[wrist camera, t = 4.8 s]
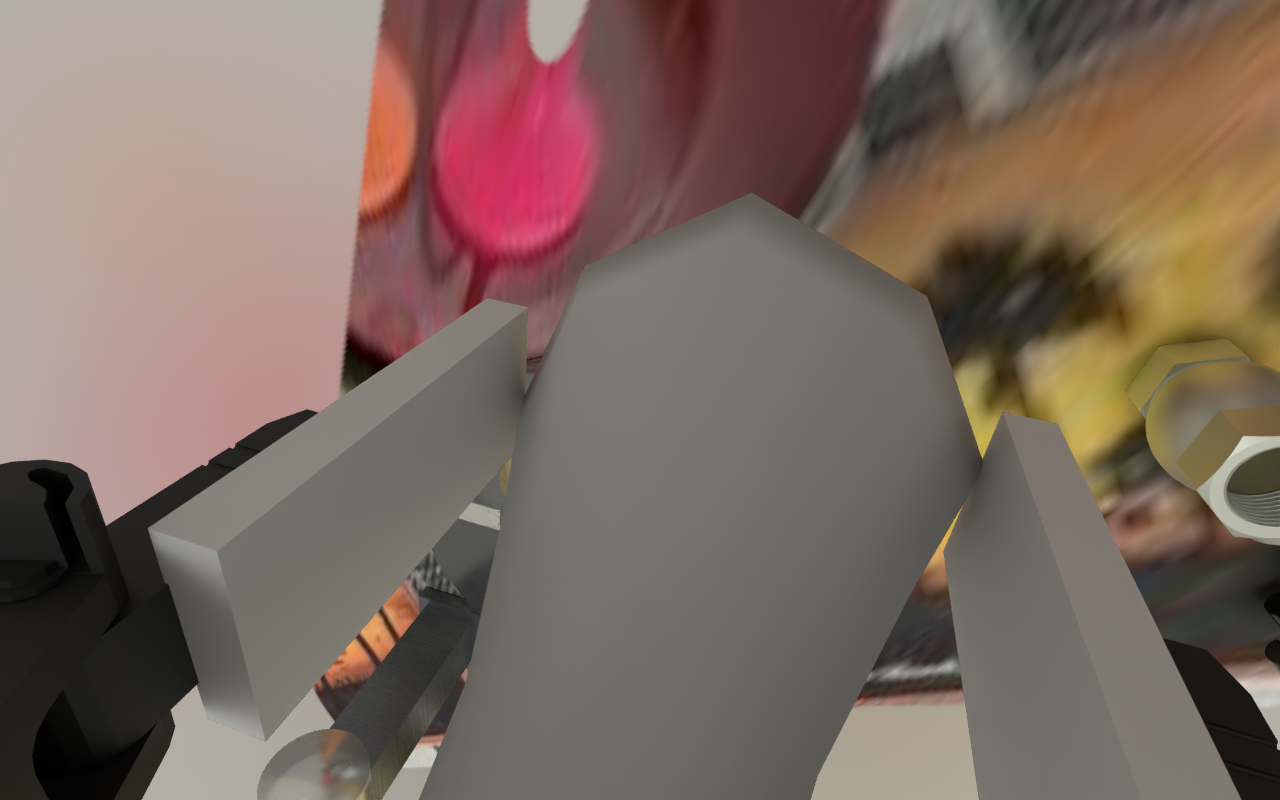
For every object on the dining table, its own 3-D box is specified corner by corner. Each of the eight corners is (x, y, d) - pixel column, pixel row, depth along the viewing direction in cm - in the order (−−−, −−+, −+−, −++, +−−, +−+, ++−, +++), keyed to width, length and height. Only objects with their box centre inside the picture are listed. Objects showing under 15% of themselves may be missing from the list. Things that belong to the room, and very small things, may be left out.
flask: (467, 382, 13) (-293, 1029, 4) (762, 91, 9) (-334, 620, 1) (720, 638, 14) (492, 1547, 6) (1072, 467, 10) (1971, 2360, 2)
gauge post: (490, 598, 39) (324, 844, 27) (491, 654, 42) (337, 903, 30) (422, 576, 40) (232, 806, 28) (426, 633, 43) (251, 867, 31)
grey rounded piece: (804, 401, 28) (783, 525, 21) (734, 676, 37) (701, 833, 29) (437, 318, 32) (310, 400, 25) (448, 587, 40) (356, 707, 33)
